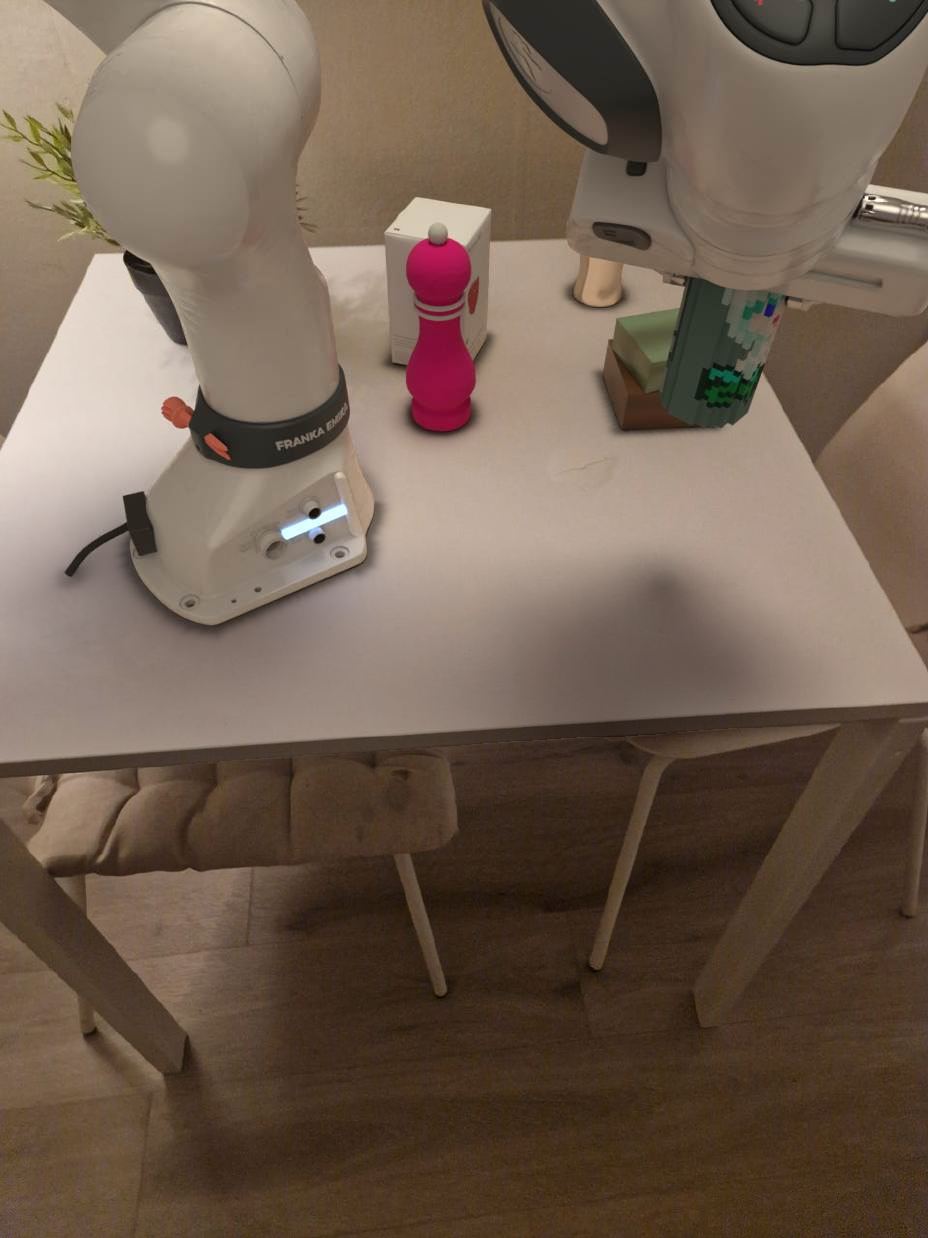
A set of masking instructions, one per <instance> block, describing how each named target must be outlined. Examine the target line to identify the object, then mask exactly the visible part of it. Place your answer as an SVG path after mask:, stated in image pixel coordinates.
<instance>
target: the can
mask: <svg viewBox="0 0 928 1238" xmlns="http://www.w3.org/2000/svg"><path fill="white" fill-rule="evenodd" d="M787 299H788V296H786V295H781V294H776V293H771V292H766V291H760V290H736V289H730V288H726V287H723V286H719V285H717V284H714V283H712V282H710V281H708V280H704V279H699V278H694V277H689V276H687V280H686V284H685V287H684V288H683V292H682V297H681V301H680V305H679V308H680V309H679V313H678V317H677V321H676V326H675V330H674V334H673V338H672V342H671V346H670V350H669V354H668V359H667V363H666V367H665V371H664V375H663V379H662V383H661V387H660V392H659V397H661V399H660V402H662V405H661V406H662V407H664V408H666V409H668V414H670V415H672V416H674V417H676V418H678V419H680V420H682V421H684V422H686V423H687V424H689V425H691V426H693V425H694V424H695V423H696V424H698V425H700V426H699V427H701V428H703V429H706V428H708V427H710V428H712V429H715V428H716V427H717V428H720V429H722V428H724V427H725V426H726V425H728V424H729V425H731V426H734V425H735V424H737V423H738V422H739V421H740V420H741V419H742V418H744V417H745V416H746V415H747V414H748V413H749V411H750V409H751V405H752V402H753V399H754V396H755V394H756V391H757V389H758V385H759V382H760V379H761V377H762V373H763V370H764V368H765V365H766V363H767V362H766V361H767V359H768V357H769V354H770V351H771V349H772V345H773V343H774V339H775V337H776V334H777V332H778V328H779V325H780V323H781V321H782V317H783V314H784V311H785V309H786V307H785V304H786V301H787Z"/></svg>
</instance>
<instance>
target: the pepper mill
mask: <svg viewBox="0 0 928 1238" xmlns="http://www.w3.org/2000/svg"><path fill="white" fill-rule="evenodd" d="M428 237H429V238H426V239H424V240H422V241H420V242H419V243H417V244H416V245H415V246H414V247H413V248H412V250H411V252H410V253H409V255H408V258H407V262H406V277H407V280H408V283H409V285H410V286H411V288H412V289H413V290H414V292H413V301H414V302H413V309H414V311H415V312H416V313H417V314H418V317H419V336H418V341H417V343H416V346H415V348H414V350H413V352H412V354H411V356H410V359H409V362H408V365H406V370H405V385H406V389H407V391H408V392H409V394H410V395H411V396H412V398H411V415H412V418H413V420H414V421H415V422H416V424H417V425H419V426H420V427H421V428H424V429H426V430H428V431H429V430H430V431H434V432H446V431H447V432H448V431H449V432H450V431H453V430H456V429H459V428H460V427H463V426H465V424H466V423H467V422H468V421H469V420H470V418H471V415H472V399H471V395H472V393H474V390H475V388H476V384H477V376H476V367H475V364H474V360H473V361H472V358H471V355H470V353H469V351H468V349H467V347H466V345H465V343H464V340H463V338H462V335H461V330H460V317H461V314H462V313H463V312H464V310H465V308H466V303H465V299H466V294H465V291H464V290H465V288H466V287H467V286H468V284H469V281H470V279H471V262H470V258H469V255H468V253H467V251H466V250H465V248H464V247H463V246H462V245H461V244H460V243H459V242H457V241H455V240H453V239H451V238H447V237H448V230H447V228H446V226H445V225H444V224H442V223H439V222H437V223H434V224H432V225H431V226H430V227H429V230H428Z"/></svg>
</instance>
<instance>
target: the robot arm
mask: <svg viewBox="0 0 928 1238" xmlns="http://www.w3.org/2000/svg"><path fill="white" fill-rule="evenodd" d="M42 2H44V3H46V4H47V5H48V6H50V7H51V8H52V9H54V10H55V11H56V12H57V13H59V14H60V15H61V16H62V17H63V18H65V19H66V20H67V21H68V22H69V23H70V24H71V25H73V26H74V27H75V28H76V29H77V30H78V31H80V32H81V33H82V34H83V35H84V36H85V37H86V38H87V39H89V40H90V41H91V43H93V44H94V45H95V47H97V48H98V49H99V50H100V51H101V52H102V53H103V54H104V55H106V56H105V57H104V58H103V60H102V61H101V62H100V63H99V64H98V66H97V67H96V69H95V71H94V72H93V74H92V76H91V79H90V81H89V84H88V86H87V88H86V90H85V93H84V96H83V99H82V101H81V104H80V106H79V107H80V108H79V110H78V114H77V117H76V120H75V123H74V127H73V130H72V134H71V141H70V160H71V167H72V172H73V176H74V179H75V183H76V185H77V189H78V191H79V193H80V195H81V197H82V199H83V201H84V204H85V205H86V207H87V209H88V210H89V212H90V214H91V215H92V216H93V217H94V219H95V221H96V222H97V223H98V224H99V225H100V227H101V228H102V229H103V230H104V231H105V232H106V234H108V236H110V237H111V238H112V239H113V240H114V241H115V242H116V243H117V244H119V246H121V247H122V248H124V249H125V250H126V251H127V252H129V253H130V254H132V255H134V256H135V257H137V258H139V259H141V260H142V261H145V262H147V263H149V264H150V266H151V267H152V268H153V270H154V272H155V273H156V275H157V276H158V278H159V280H160V281H161V283H162V285H163V286H164V288H165V290H166V292H167V294H168V295H169V298H170V300H171V302H172V304H173V307H174V308H175V311H176V313H177V316H178V318H179V321H180V325H181V327H182V328H181V329H182V331H183V334H184V337H185V340H186V344H187V347H188V350H189V354H190V356H191V361H192V364H193V367H194V370H195V374H196V377H197V380H198V383H199V384H198V388H197V393H196V398H195V404H194V409H193V408H192V407H191V406H189V405H187V404H186V402H185V400H183V399H182V398H180V397H179V396H169V397H168V398H166V399H165V400H164V401H163V402H162V406H161V407H160V410H161V415H162V416H163V417H164V418H165V419H166V420H167V421H169V422H170V423H172V426H174V427H175V428H176V429H181V430H182V429H183V430H184V429H187V428H188V429H189V433H190V436H188V438H187V440H186V441H184V443H183V445H182V446H181V447H180V449H179V450H178V451H177V453H176V454H175V456H174V457H173V458H172V460H171V461H170V462H169V463H168V465H167V466H166V467H165V468H164V470H163V471H162V472H161V473H160V475H159V476H158V477H157V478H156V480H155V481H154V482H153V483H152V485H151V486H150V487H149V489H148V490H147V493H146V492H145V491H144V490H141V491H137V492H133V493H132V492H131V493H129V494H124V495H122V501H123V508H124V513H125V519H126V522H124V523H122V524H121V525H118V526H117V527H115V528H113V529H111V530H109V531H107V532H105V533H104V534H101V535H99V536H98V537H97V538H95V539H94V540H92V541H91V542H89V543H88V544H87V545H85V546H84V547H83V548H82V549H81V550H80V551H79V552H78V553H77V554H76V555H75V556H74V558H73V559H72V561H71V562H70V564H69V565H68V566H67V568H66V569H65V570H64V575H65V576H67V577H69V578H72V577H73V576H74V575H75V573H76V572H77V570H78V569H79V567H80V566H81V565H82V564H83V562H85V560H86V558H87V557H89V556H90V555H91V554H92V553H93V552H95V550H97V549H98V548H100V547H102V546H103V545H105V544H106V543H109V542H110V541H112V540H113V539H115V538H117V537H119V536H121V535H123V534H125V533H127V532H128V536H129V537H130V540H129V551H130V556H131V560H132V563H133V566H134V568H135V571H136V573H137V575H138V577H139V578H140V579H141V581H142V583H143V584H144V585H145V586H146V588H147V589H148V590H149V591H150V593H152V595H154V597H156V599H157V600H159V602H160V603H161V604H163V605H164V606H166V607H167V608H168V609H169V610H171V611H172V612H174V613H175V614H176V615H178V616H180V617H182V618H184V619H186V620H188V621H191V622H194V623H197V624H201V625H206V626H216V625H220V624H223V623H225V622H228V621H229V620H232V619H234V618H237V617H239V616H242V615H244V614H245V613H248V612H250V611H253V610H255V609H257V608H261V607H262V606H264V605H267V604H269V603H272V602H274V601H276V600H279V599H281V598H284V597H286V596H288V595H290V594H292V593H295V592H297V591H300V590H301V589H304V588H307V587H308V586H312V585H314V584H316V583H318V582H320V581H323V580H324V579H328V578H330V577H333V576H334V575H337V574H339V573H341V572H344V571H346V570H348V569H351V568H353V567H355V566H357V565H360V564H361V563H363V562H364V561H365V560H366V557H367V554H368V547H367V546H368V545H367V540H366V535H367V532H368V529H369V527H370V525H371V522H372V521H373V517H374V514H375V498H374V494H373V491H372V489H371V487H370V485H369V484H368V482H367V479H366V478H365V476H364V474H363V471H362V469H361V466H360V462H359V460H358V458H357V454H356V451H355V448H354V443H353V440H352V436H351V431H350V428H349V427H350V426H349V422H350V421H349V420H350V418H351V417H350V416H351V406H350V398H349V393H348V386H347V381H346V375H345V372H344V368H343V367H342V365H341V364H340V363H339V360H338V359H339V358H338V352H337V344H336V337H335V328H334V321H333V314H332V305H331V299H330V291H329V290H330V289H329V285H328V282H327V279H326V277H325V275H324V274H323V273H322V271H321V270H320V269H319V268H318V267H317V266H316V264H315V263H314V260H313V258H312V255H311V252H310V250H309V247H308V244H307V241H306V238H305V235H304V232H303V229H302V225H301V222H300V217H299V211H298V204H297V177H298V169H299V161H300V159H301V155H302V153H303V151H304V149H305V147H306V146H307V143H308V141H309V139H310V137H311V134H312V132H314V131H313V130H314V128H315V126H316V124H317V121H318V117H319V115H320V109H321V105H322V67H321V66H322V65H321V56H320V49H319V45H318V41H317V38H316V34H315V32H314V29H313V27H312V25H311V22H310V21H309V18H308V17H307V15H306V13H305V12H304V10H303V9H302V8H301V6H300V5H299V4H298V2H296V0H42ZM481 5H482V9H483V12H484V15H485V18H486V21H487V23H488V26H489V29H490V31H491V33H492V35H493V39H494V40H495V42H496V44H497V47H498V48H499V50H500V53H501V55H502V57H503V58H504V60H505V62H506V64H507V66H508V67H509V69H510V71H511V73H512V74H513V76H514V77H515V79H516V81H517V83H518V84H519V85H520V87H521V88H522V89H523V90H524V92H525V93H526V95H527V96H528V97H529V98H530V99H531V101H532V102H533V103H534V104H535V105H536V106H537V107H538V108H539V110H540V111H542V113H543V114H544V115H545V116H546V117H547V118H548V119H549V120H550V121H551V122H552V123H554V124H555V125H556V126H557V127H558V128H559V129H561V131H562V132H564V133H566V134H567V135H568V136H570V138H573V139H574V140H575V141H577V142H578V143H580V144H581V145H583V146H584V147H586V149H585V151H584V155H583V159H582V163H581V167H580V171H579V176H578V180H577V183H576V186H575V190H574V194H573V198H572V202H571V205H570V210H569V214H568V217H567V221H566V225H565V226H566V227H565V237H566V241H567V245H568V247H569V248H570V250H572V251H574V252H575V253H577V254H579V255H580V254H581V255H584V256H587V257H591V258H597V259H603V260H608V261H613V262H618V263H623V264H624V265H627V266H628V265H629V266H634V267H639V268H644V269H648V270H649V269H650V270H653V271H654V272H656V273H657V274H659V275H660V276H662V284H668V285H672V286H678V287H684V288H685V284H686V280H687V276H689V277H694V278H699V279H704V280H708V281H710V282H712V283H714V284H717V285H719V286H723V287H726V288H730V289H736V290H760V291H766V292H771V293H776V294H781V295H786V296H788V299H787V301H786V304H785V308H789V309H793V310H798V311H803V312H809V311H810V309H811V307H812V306H815V305H822V304H823V305H824V304H828V305H832V306H838V307H842V308H847V309H852V310H859V311H863V312H869V313H873V314H878V315H883V316H888V317H895V318H904V317H905V318H906V317H912V316H918V315H920V314H921V313H923V312H924V311H925V310H926V308H927V307H928V193H925V192H920V191H913V190H909V189H902V188H895V187H891V186H890V187H888V186H883V185H876V184H871V181H872V179H873V177H874V174H875V171H876V169H877V166H878V162H879V159H880V158H881V157H882V156H883V154H884V153H885V151H886V150H887V149H888V147H889V146H890V145H891V143H892V141H893V139H894V138H895V137H896V135H897V133H898V130H899V129H900V127H901V125H902V123H903V121H904V119H905V117H906V115H907V113H908V111H909V110H910V109H909V108H910V106H911V104H912V102H913V100H914V98H915V96H916V94H917V92H918V89H919V87H920V85H921V83H922V80H923V78H924V75H925V73H926V71H927V68H928V0H481Z"/></svg>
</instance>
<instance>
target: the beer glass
mask: <svg viewBox="0 0 928 1238" xmlns="http://www.w3.org/2000/svg"><path fill="white" fill-rule="evenodd" d="M624 265H625V264H623V263H618V262H613V261H608V260H603V259H597V258H591V257H587V256H584V255H581V254H579V267H578V272H577V277H576V280H575V283H574V286H573V289H572V294H573V297H574V298H575V299H576V300H577V301H578V302H579V303H581V304H582V305H585V306H589V307H594V308H595V307H596V308H604V307H610V306H613V305H615V304H617V303H618V302H620V300H621V298H622V292H623V291H622V290H623V289H622V287H623V285H622V276H623V269H624Z"/></svg>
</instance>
